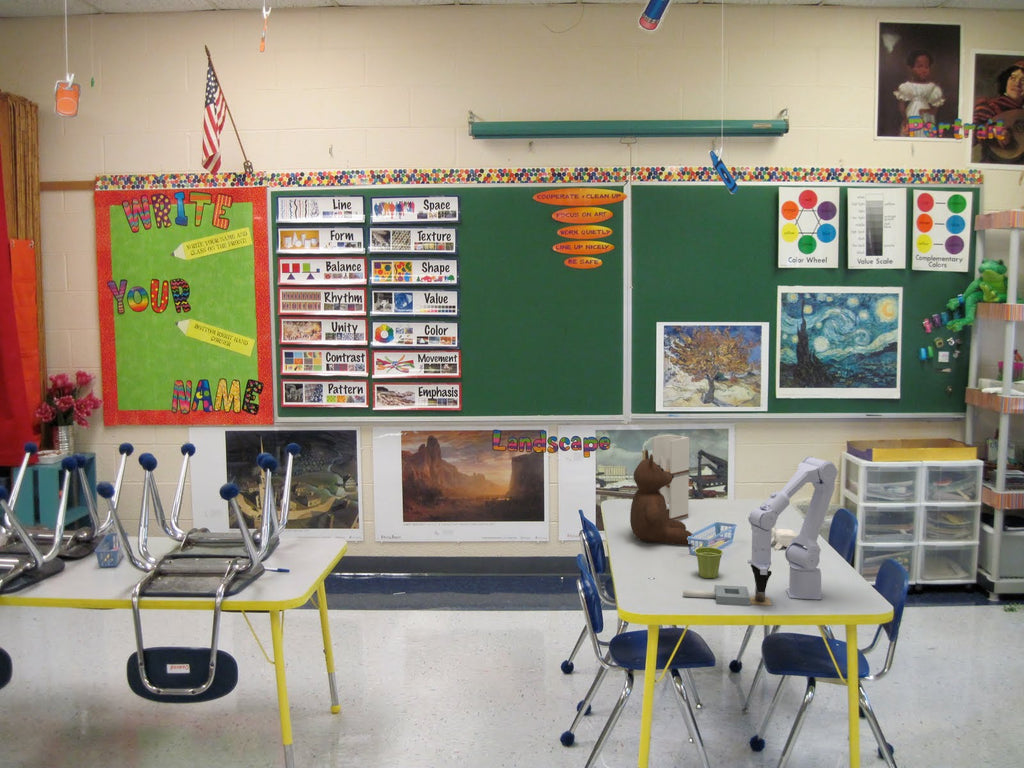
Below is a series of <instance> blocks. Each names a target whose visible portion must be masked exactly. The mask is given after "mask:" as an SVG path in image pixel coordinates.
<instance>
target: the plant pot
mask: <svg viewBox="0 0 1024 768" xmlns="http://www.w3.org/2000/svg"><path fill="white" fill-rule="evenodd" d="M694 553H695V556H696V558H697V565H698V572H699V573H698V574H699V576H700V578H704V579H709V578H711V579H716V578H718V576H719V570H720V564H721V563H720V562H721V559H722V555H723V554H724V551H723V550H722V549H719V548H717V547H710V546H709V547H708V546H704V547H698V548H695V549H694Z"/></svg>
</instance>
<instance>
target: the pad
mask: <svg viewBox="0 0 1024 768" xmlns="http://www.w3.org/2000/svg"><path fill="white" fill-rule="evenodd" d="M749 596H750V595H749ZM752 605H753V606H770V607H771V606H772V602H771V600H770V597H769V596H768V597H767V596H765V602H758V601H756V600H755V596H750V606H752Z"/></svg>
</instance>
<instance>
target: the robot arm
mask: <svg viewBox="0 0 1024 768" xmlns="http://www.w3.org/2000/svg"><path fill="white" fill-rule="evenodd" d="M793 474H794V475H793V476H791V478H790V479H789V480H788V482H786V484H785V486H783V488H782V489H781V490H779V491H774V492H772V493H771V494H770V496H769V497H768V498H767V499H766V500H765V501H764V502H763V503H762V504H761V505H760V506H759V507H757V508H754V509H753V510H752V511H751V512H750V513H749V516H748V517H747V518H748V522H749V524H750V526H751V527H750V529H751V559H747V564H749V565H750V567H751V571H752V572H753V576H754V577H753V578H754V584H755V586H757V591H758V592H765V593H766V590H767V584H768V581H769V578H770V577H771V576H772V571H771V570H770V568H771V566H772V538H771V532H772V528H773V527H775V526H776V524H777V520H778V519H779V516H780V515H781V514H782V513H783V512H784V511H785V510H786V508H788V507H789V505H790V499H791V498H792V497H793V496H794V495H795V494H796V493H797V492H798V491H799V490H801V489H802V488H803V487H804V486H805V485H806V484H807V483H811V484H812V486H813V488H814V491H813V493H812V496H811V500H810V502H809V505H808V508H807V510H806V514H805V517H804V520H803V522H802V524H801V525H802V526H801V529H800V532H799V534H797V535H798V536H797V537H795V538H793V539H792V541H791V543H790V545H789V546H788V547H785V548H786V549H785V552H784V557H785V559H786V561H787V562H788V566H789V580H788V581H789V582H788V583H789V584H788V586H789V587H786V588H785V590H786V593H787V596H789V597H788V598H790V599H802V600H821V599H822V572H821V569H820V568H817V567H818V565H819V563H820V554H821V551H822V550H821V547H820V545H819V544H818V541H817V540H818V538H819V535H820V532H821V529H822V526H823V525H824V520H825V517H826V515H827V512H828V508H829V506H830V502H831V500H832V498H833V494H834V492H835V485H836V484H835V483H836V478H837V475H838V469H837V467H836V465H835V463H834V462H832V461H831V460H830V461H828V460H824V459H820V458H817V457H813V456H810V455H809V456H806V457H805V458H803V460H802V461H801V462H799V463H798V467H797V471H796V472H795V473H793Z"/></svg>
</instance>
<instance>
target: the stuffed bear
mask: <svg viewBox="0 0 1024 768" xmlns="http://www.w3.org/2000/svg"><path fill="white" fill-rule="evenodd" d="M673 478H674V476H673V475H671V474H669V473H666V472H664V469H663V468H661V466H660V465H657V464H656V463H655V462H654V461H653V455H652V453H651V454H649V450H648V449H645V451H644V459H643V460H641V461H640V462H639V463H638V465H637V466H636V468H635V470H634V471H633V481H634V482H635V484H636V485H637V488H638V489H637V490H636V491H635V493H634V495H633V497H632V501H631V506H630V514H629V518H630V519H629V521H630V522H629V523H630V527H631V531H632V533H633V535H634V536H635V538H636V539H638V540H639V541H640V542H645V543H652V544H668V545H669V544H671V545H676V546H677V545H678V546H679V545H680V546H689V545H688V540H687V537H688V536H691V535H693V533H692V532H690V531H689V530H687V527H686V525H685V523H684V522H682V521H681V520H680V521H677V520H668V512H667V509H668V508H667V503H666V502H665V498H664V496H663V495H662V494H661V493H660V488H662V487H664V486H665V485H668V484H670V483H671V482H672V479H673ZM693 536H694V535H693Z"/></svg>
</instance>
